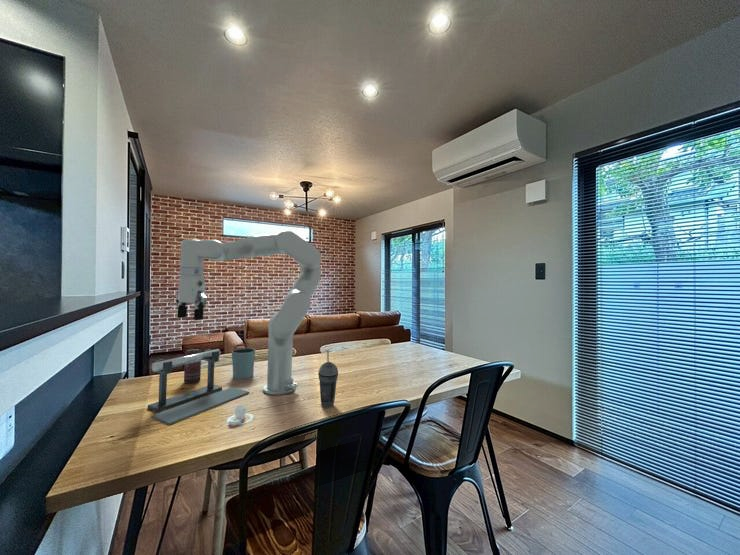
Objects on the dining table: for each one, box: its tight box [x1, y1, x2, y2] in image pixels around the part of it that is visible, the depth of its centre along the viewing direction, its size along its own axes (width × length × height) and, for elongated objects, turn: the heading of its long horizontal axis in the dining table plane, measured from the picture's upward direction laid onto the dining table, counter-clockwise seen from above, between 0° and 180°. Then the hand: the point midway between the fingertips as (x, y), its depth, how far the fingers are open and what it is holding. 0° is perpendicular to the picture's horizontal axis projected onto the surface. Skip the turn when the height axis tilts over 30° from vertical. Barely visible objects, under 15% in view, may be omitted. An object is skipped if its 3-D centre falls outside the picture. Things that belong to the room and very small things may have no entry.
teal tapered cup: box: [231, 347, 256, 380], centre depth 139 cm, size 10×10×12 cm
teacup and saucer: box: [226, 405, 254, 426], centre depth 97 cm, size 9×8×4 cm
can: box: [183, 347, 202, 385], centre depth 130 cm, size 6×6×14 cm
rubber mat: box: [150, 386, 250, 426], centre depth 107 cm, size 10×30×1 cm, turn 153°
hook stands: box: [147, 348, 223, 413], centre depth 112 cm, size 6×24×16 cm, turn 153°
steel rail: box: [151, 348, 222, 373], centre depth 112 cm, size 24×3×3 cm, turn 153°
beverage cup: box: [317, 349, 339, 409], centre depth 109 cm, size 7×7×20 cm
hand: (190, 318), depth 112 cm, fingers open, 9 cm apart
